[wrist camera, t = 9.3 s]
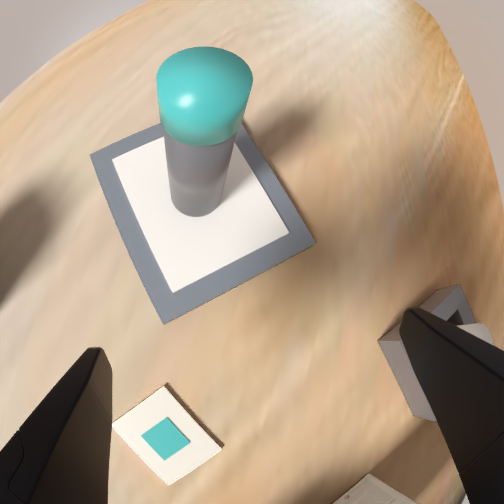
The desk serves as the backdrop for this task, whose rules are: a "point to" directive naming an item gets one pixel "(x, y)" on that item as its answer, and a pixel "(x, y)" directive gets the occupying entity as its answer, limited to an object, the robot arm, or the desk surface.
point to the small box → (373, 493)
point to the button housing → (440, 304)
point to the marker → (201, 122)
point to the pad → (197, 222)
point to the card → (166, 436)
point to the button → (478, 331)
